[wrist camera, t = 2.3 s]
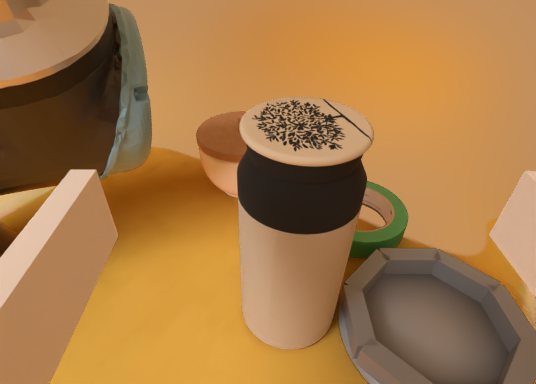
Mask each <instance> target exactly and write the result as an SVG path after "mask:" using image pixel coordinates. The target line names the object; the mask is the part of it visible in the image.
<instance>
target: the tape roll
mask: <svg viewBox="0 0 536 384" xmlns="http://www.w3.org/2000/svg"><path fill="white" fill-rule="evenodd" d="M362 205H364V206H366V207H369V208H371V209H373V210H374V211H376V212H377V213H378V214H379V215H380V216H381V217H382V218H383V220H384V221H385V223H386V224H385V225H384V226H383V227H381V228H378V229H373V230H355V233H354V237H353V241H352V245H351V249H350V253H349V257H354V258H368V257H369V256H370V255H371V254H372V253H373V252H374V251H375V250H376V249H377V250H379V249H380V248H396V247H397V246H398V244H399V243H400V241H401V239H402V237H403V234H404V231H405V229H406V226H407V222H408V213H407V210H406V208H405V206H404V204H403V203H402V201H401V200H400V199H399V198H398V197H397V196H396V195H395V194H393V193H392V192H390V191H389V190H387V189H386V188H384V187H382V186H380V185H377V184H375V183H372V182H369V181H367V186H366V190H365V194H364V198H363V202H362Z"/></svg>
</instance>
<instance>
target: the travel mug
mask: <svg viewBox="0 0 536 384" xmlns="http://www.w3.org/2000/svg"><path fill="white" fill-rule="evenodd" d="M239 129H240V134H241V137H242V138H243V140H244V141H245V143H246V146H247V150H246V152H245V154H244V155H243V157H242V159H241V160H240V162H239V164H238V167H237V190H238V215H239V240H240V265H241V290H242V311H243V316H244V319H245V322H246V324H247V326H248V327H249V329H250V330H251V332H252V333H253V334H254V335H255V336H256V337H257V338H259V339H260V340H261V341H263V342H264V343H266V344H268V345H270V346H273V347H276V348H280V349H290V350H292V349H301V348H305V347H308V346H310V345H312V344H314V343H316V342H317V341H319V340H320V339H321V338H322V337H323V336H324V335H325V334H326V333H327V331H328V330H329V328H330V326H331V323H332V320H333V316H334V312H335V308H336V304H337V300H338V296H339V292H340V288H341V284H342V280H343V277H344V273H345V269H346V265H347V261H348V257H349V253H350V249H351V245H352V241H353V237H354V233H355V229H356V225H357V221H358V217H359V213H360V209H361V206H362V202H363V198H364V194H365V190H366V186H367V176H366V173H365V170H364V167H363V165H362V162H361V158H362V156H363V154H364V153H365V152H366V151H367V150H368V149H369V148H370V146H371V145H372V142H373V139H374V131H373V128H372V126H371V124H370V123H369V121H368V120H367V119H366V118H365V117H364V116H363V115H362V114H360V113H359V112H357V111H356V110H354V109H352V108H350V107H348V106H345V105H343V104H340V103H337V102H333V101H330V100H325V99H319V98H311V97H286V98H279V99H273V100H269V101H266V102H263V103H260V104H258V105H256V106H254V107H252V108H251V109H250V110H248V111H247V112H246V113H245V114H244V115H243V117H242V119H241V121H240V126H239Z"/></svg>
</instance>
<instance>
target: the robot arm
mask: <svg viewBox="0 0 536 384" xmlns="http://www.w3.org/2000/svg"><path fill="white" fill-rule="evenodd" d="M147 91H148V85H147V70H146V63H145V57H144V52H143V46H142V41H141V37H140V33H139V29H138V26H137V23H136V20H135V18H134V16H133V14H132V13H131V12H130V11H129V10H128V9H126V8H124V7H118V6H116V5H114V4H110V3H109V4H108V0H0V195H5V194H10V193H16V192H21V191H27V190H33V189H39V188H45V187H51V186H57V185H58V186H57V187H56V188H55V190H54V191H53V192H52V193H51V195H50V196H49V197H48V198H47V200H46V201H45V202H44V204H43V205H42V206H41V207H40V209H39V210H38V211H37V212H36V214H35V215H34V216H33V217H32V219H31V220H30V221H29V222H28V224H27V225H26V226H25V227H24V229H23V230H22V231H21V232H20V234H19V235H18V234H17V233H16V232H14V231H13V230H11V229H10V228H9V227H7V226H6V225H4V224H3V223H1V222H0V384H50V382H51V380H52V377H53V375H54V373H55V371H56V369H57V367H58V365H59V362H60V360H61V358H62V356H63V354H64V352H65V350H66V347H67V345H68V343H69V341H70V339H71V337H72V335H73V332H74V330H75V328H76V326H77V324H78V322H79V320H80V317H81V315H82V313H83V311H84V309H85V307H86V305H87V302H88V300H89V298H90V296H91V294H92V292H93V290H94V287H95V285H96V283H97V281H98V279H99V277H100V275H101V273H102V270H103V268H104V266H105V264H106V262H107V260H108V258H109V255H110V253H111V251H112V249H113V247H114V245H115V243H116V240H117V238H118V236H119V235H118V232H117V229H116V226H115V223H114V220H113V217H112V214H111V211H110V208H109V205H108V203H107V200H106V197H105V194H104V191H103V188H102V185H101V182H100V179H104V178H106V177H108V175H112V174H116V173H120V172H124V171H129V170H132V169H136V168H138V167H139V166H141V165H142V164H143V163H144V162H145V161H146V159H147V158H148V156H149V153H150V149H151V140H152V124H151V108H150V100H149V96H148V93H147ZM489 236H490V237H491V239H492V240H493V241H494V243H495V244H496V246H497V247H498V248H499V250H500V251H501V252H502V254H503V255H504V256H505V258H506V259H507V260H508V262H509V263H510V264H511V266H512V267H513V268H514V270H515V271H516V272H517V274H518V275H519V276H520V278H521V279H522V280H523V282H524V283H525V284H526V286H527V287H528V288H529V290H530V291H531V292H532V294H533V295H534V297H535V298H536V171H524V173H523V175H522V176H521V178H520V180H519V182H518V184H517V185H516V187H515V189H514V191H513V193H512V195H511V196H510V198H509V200H508V202H507V203H506V205H505V207H504V209H503V211H502V213H501V214H500V216H499V218H498V220H497V221H496V223H495V225H494V227H493V229H492V231H491V232H490V234H489Z"/></svg>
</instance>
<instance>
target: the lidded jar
mask: <svg viewBox="0 0 536 384" xmlns="http://www.w3.org/2000/svg"><path fill="white" fill-rule="evenodd" d="M245 113H246V112H244V111H242V112H241V111H240V112H230V113H225V114H220V115H217V116H215V117H212V118H210V119H208V120H206V121H205V122H203V123H202V124H201V125H200V127H199V128H198V130H197V133H196V137H197V143H198V146H199V152H200V158H201V162H202V165H203V168H204V170H205V173H206V174H207V176H208V178H209V179H210V180H211V182H212V183H213V184H214V185H215V186H216V187H218V188H219V189H221V190H222V191H224V192H225V193H226V194H227V195H229V196H232V197H235V198H238V190H237V167H238V164H239V162H240V160H241V159H242V157H243V155H244V154H245V152H246V150H247V146H246V143H245V141H244V140H243V138H242V137H241V134H240V129H239V126H240V121H241V119H242V117H243V115H244V114H245Z"/></svg>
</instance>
